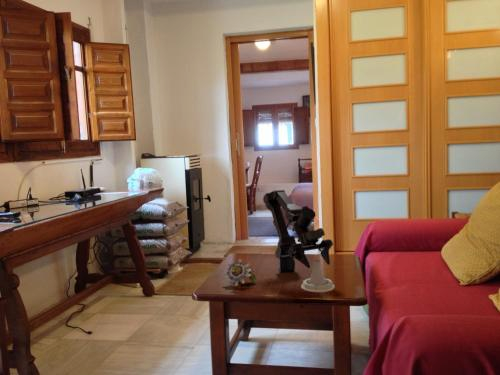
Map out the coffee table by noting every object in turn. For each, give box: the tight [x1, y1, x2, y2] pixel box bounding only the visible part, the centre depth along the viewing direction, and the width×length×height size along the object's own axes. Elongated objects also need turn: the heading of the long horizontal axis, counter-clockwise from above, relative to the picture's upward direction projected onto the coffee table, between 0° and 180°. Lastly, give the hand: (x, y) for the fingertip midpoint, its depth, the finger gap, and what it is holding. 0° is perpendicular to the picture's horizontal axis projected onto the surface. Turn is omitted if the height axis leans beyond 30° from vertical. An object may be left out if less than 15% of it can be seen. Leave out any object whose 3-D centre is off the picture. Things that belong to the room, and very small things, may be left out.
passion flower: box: [222, 258, 257, 287], centre depth 178 cm, size 11×11×12 cm
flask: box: [308, 259, 326, 286], centre depth 170 cm, size 7×7×10 cm
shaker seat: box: [300, 277, 335, 293], centre depth 170 cm, size 13×13×2 cm
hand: (319, 265), depth 168 cm, fingers open, 9 cm apart
